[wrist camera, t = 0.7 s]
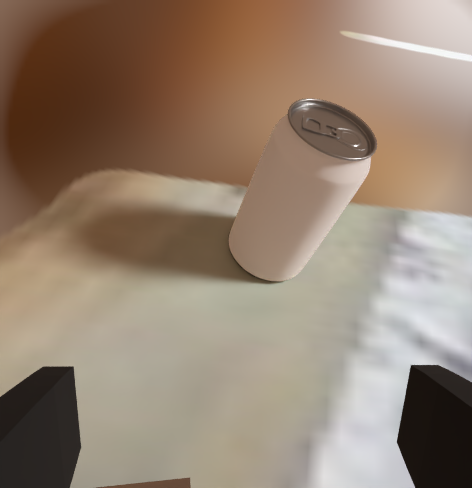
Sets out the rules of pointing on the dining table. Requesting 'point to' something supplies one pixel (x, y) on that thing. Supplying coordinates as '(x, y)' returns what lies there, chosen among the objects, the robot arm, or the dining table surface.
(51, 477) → the robot arm
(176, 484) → the riser
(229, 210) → the dining table surface
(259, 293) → the dining table surface
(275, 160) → the can
